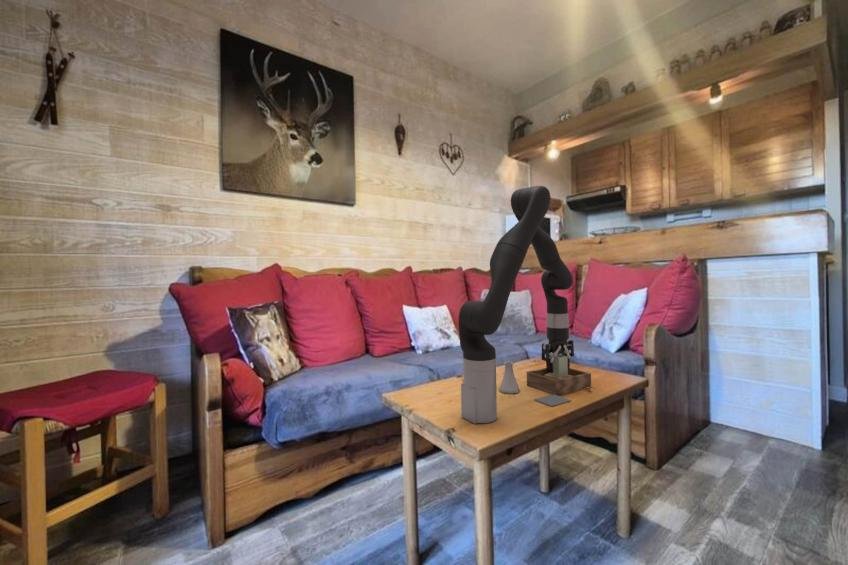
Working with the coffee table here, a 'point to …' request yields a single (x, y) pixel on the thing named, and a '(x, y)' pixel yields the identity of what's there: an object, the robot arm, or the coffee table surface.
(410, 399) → the coffee table surface
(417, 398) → the coffee table surface
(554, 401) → the pad
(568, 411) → the coffee table surface
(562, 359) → the block
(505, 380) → the flask
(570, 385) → the crate
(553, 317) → the robot arm
